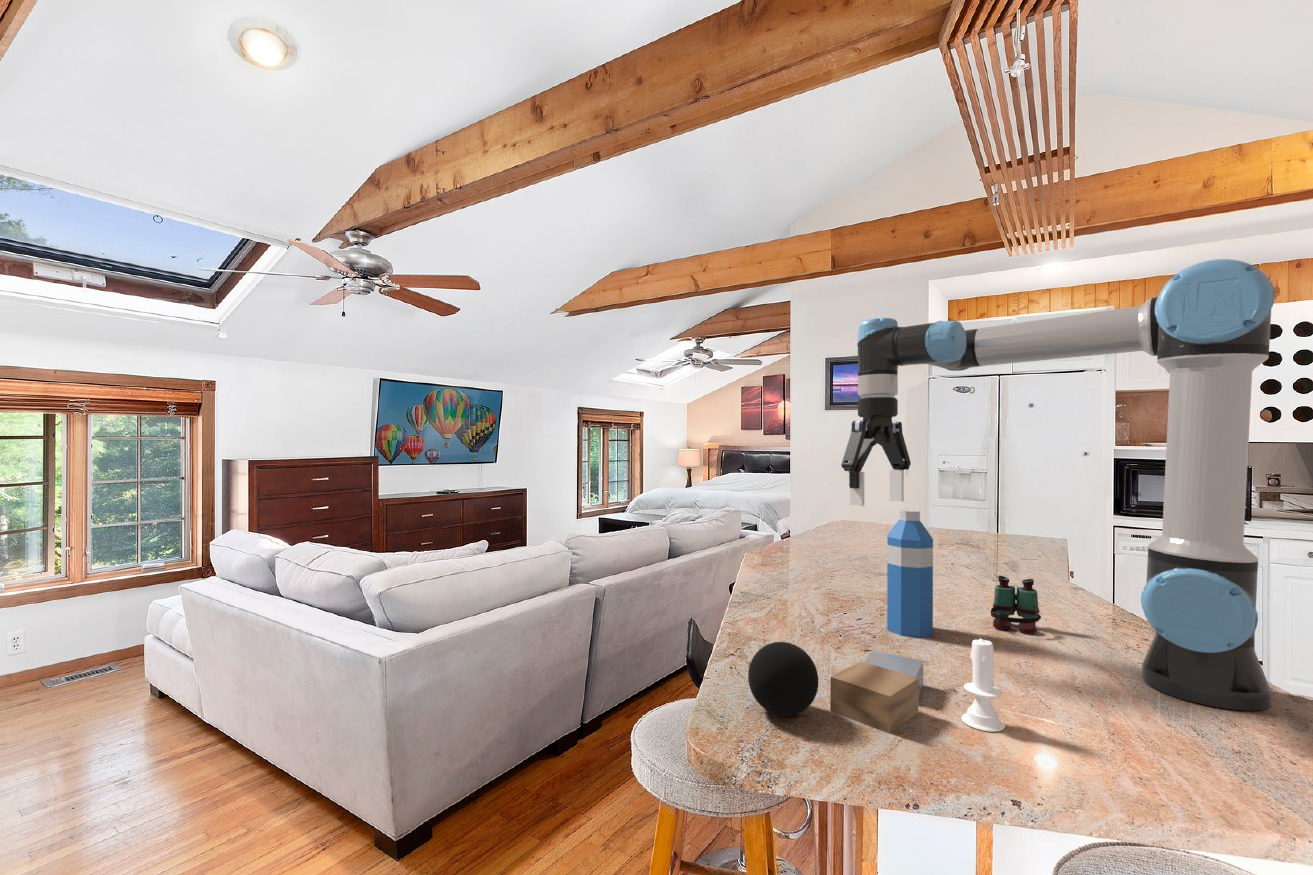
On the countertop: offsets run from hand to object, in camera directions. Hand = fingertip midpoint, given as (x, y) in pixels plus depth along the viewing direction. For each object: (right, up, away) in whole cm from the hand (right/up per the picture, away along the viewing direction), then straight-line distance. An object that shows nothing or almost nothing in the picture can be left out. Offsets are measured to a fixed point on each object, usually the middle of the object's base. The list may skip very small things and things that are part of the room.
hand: (877, 503), depth 119 cm
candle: (+2, -27, -36) cm, 45 cm away
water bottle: (+9, -27, +5) cm, 29 cm away
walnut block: (-12, -27, -32) cm, 44 cm away
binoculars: (+31, -27, +6) cm, 42 cm away
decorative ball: (-26, -27, -32) cm, 50 cm away
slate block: (-6, -27, -24) cm, 37 cm away
